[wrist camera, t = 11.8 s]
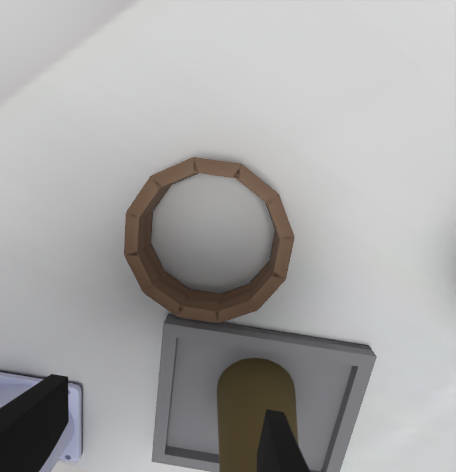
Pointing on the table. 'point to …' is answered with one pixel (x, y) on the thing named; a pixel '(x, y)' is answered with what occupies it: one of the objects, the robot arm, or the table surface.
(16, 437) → the robot arm
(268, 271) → the ring
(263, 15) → the table surface
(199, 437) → the tray
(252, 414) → the pepper mill
